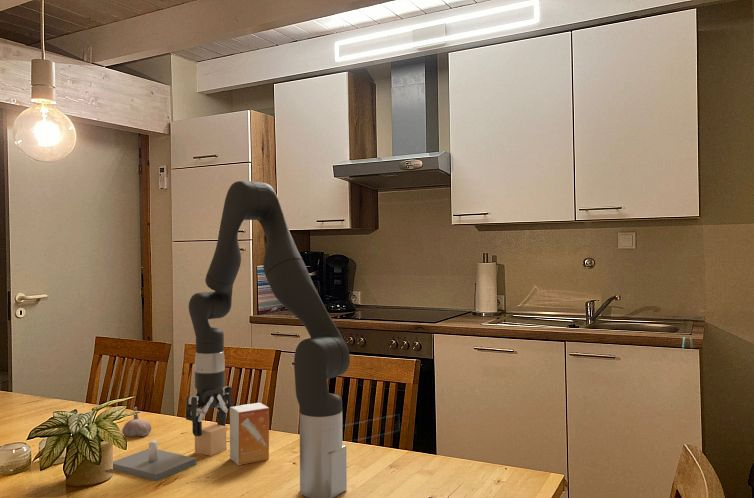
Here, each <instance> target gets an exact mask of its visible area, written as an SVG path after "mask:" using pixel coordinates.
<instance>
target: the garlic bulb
mask: <svg viewBox="0 0 754 498" xmlns="http://www.w3.org/2000/svg"><path fill="white" fill-rule="evenodd" d="M132 410H133V411H137V412H138V407H137V406H135V407H133V409H132ZM151 431H152V425H151V423H149V422H148V421H147V420H145V419H140V418H139V414H136V415H134V414H133V419H131V420H130V419H129V420H127V422H126V423H125V424H124V426H123V427H122V429H121V433H122V435H123V434H124V435H125V436H124V435H123V436H124V437H129V436H130V437H135V436H136V437H144V436H145V437H146V436H148V435H149V434H150V433H151Z"/></svg>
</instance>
